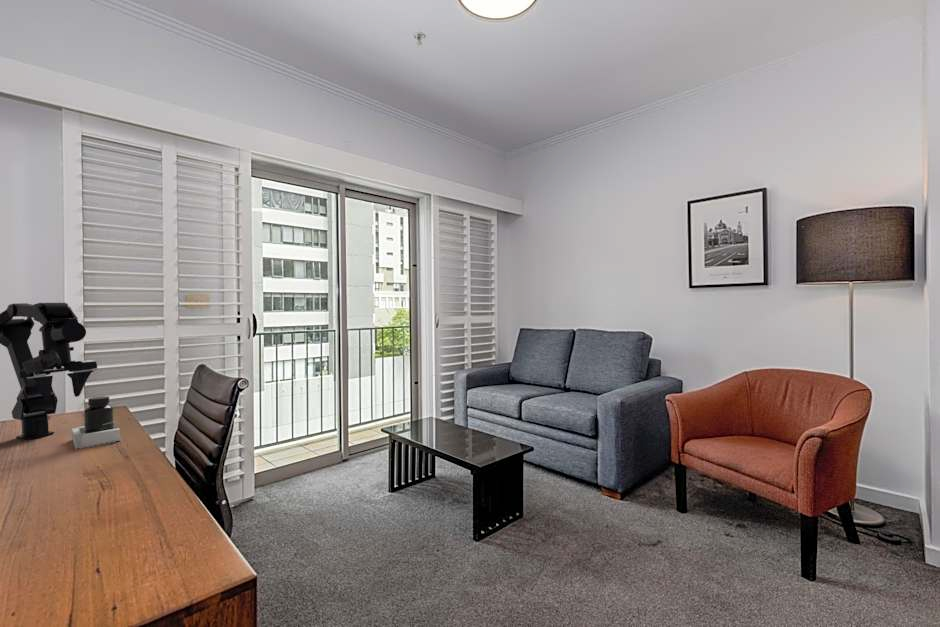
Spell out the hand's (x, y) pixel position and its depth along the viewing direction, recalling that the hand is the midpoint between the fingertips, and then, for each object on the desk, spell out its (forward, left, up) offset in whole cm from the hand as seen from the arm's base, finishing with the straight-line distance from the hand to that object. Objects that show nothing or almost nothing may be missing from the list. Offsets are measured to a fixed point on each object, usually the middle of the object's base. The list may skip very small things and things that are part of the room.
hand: (62, 398), depth 133 cm
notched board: (+8, +4, -13) cm, 16 cm away
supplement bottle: (+8, +4, -13) cm, 16 cm away
